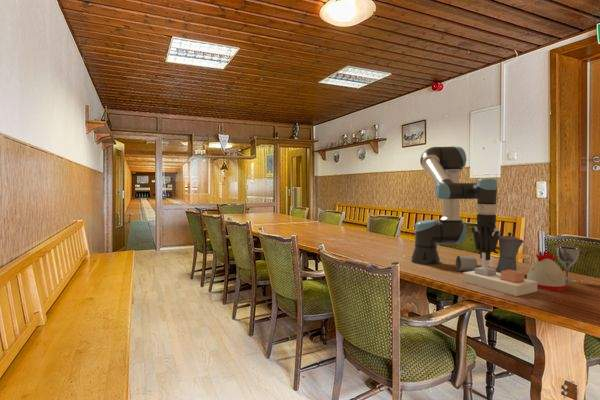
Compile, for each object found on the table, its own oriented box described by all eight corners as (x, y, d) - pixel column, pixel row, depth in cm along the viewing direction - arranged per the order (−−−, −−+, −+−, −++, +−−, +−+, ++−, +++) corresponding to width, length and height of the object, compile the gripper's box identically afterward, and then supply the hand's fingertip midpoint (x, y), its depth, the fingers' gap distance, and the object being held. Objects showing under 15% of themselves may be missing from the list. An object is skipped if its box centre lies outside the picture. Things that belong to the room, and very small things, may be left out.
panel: (462, 281, 159) (462, 272, 158) (482, 277, 165) (482, 269, 165) (516, 296, 137) (516, 286, 137) (537, 291, 144) (537, 281, 144)
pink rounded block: (500, 279, 147) (500, 271, 147) (509, 277, 150) (509, 269, 150) (515, 282, 142) (515, 274, 142) (524, 281, 145) (524, 272, 144)
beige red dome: (519, 281, 159) (520, 248, 159) (551, 281, 159) (552, 248, 158) (539, 290, 145) (540, 254, 145) (574, 290, 145) (575, 254, 144)
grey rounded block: (474, 275, 158) (474, 268, 158) (483, 274, 160) (483, 266, 160) (487, 279, 152) (487, 271, 152) (495, 277, 155) (496, 269, 155)
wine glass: (557, 277, 166) (558, 245, 165) (579, 280, 160) (580, 247, 159) (554, 280, 160) (555, 247, 159) (576, 284, 154) (577, 249, 154)
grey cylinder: (477, 272, 175) (478, 257, 174) (460, 272, 175) (461, 256, 175) (468, 268, 185) (469, 253, 185) (452, 267, 186) (453, 253, 185)
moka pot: (519, 277, 166) (520, 234, 165) (485, 271, 177) (486, 231, 177) (526, 273, 172) (527, 233, 171) (492, 268, 184) (493, 230, 183)
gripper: (467, 212, 159) (466, 264, 161) (495, 215, 148) (493, 271, 149) (478, 212, 163) (477, 262, 164) (506, 214, 151) (504, 269, 153)
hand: (485, 266), depth 157 cm, fingers closed
